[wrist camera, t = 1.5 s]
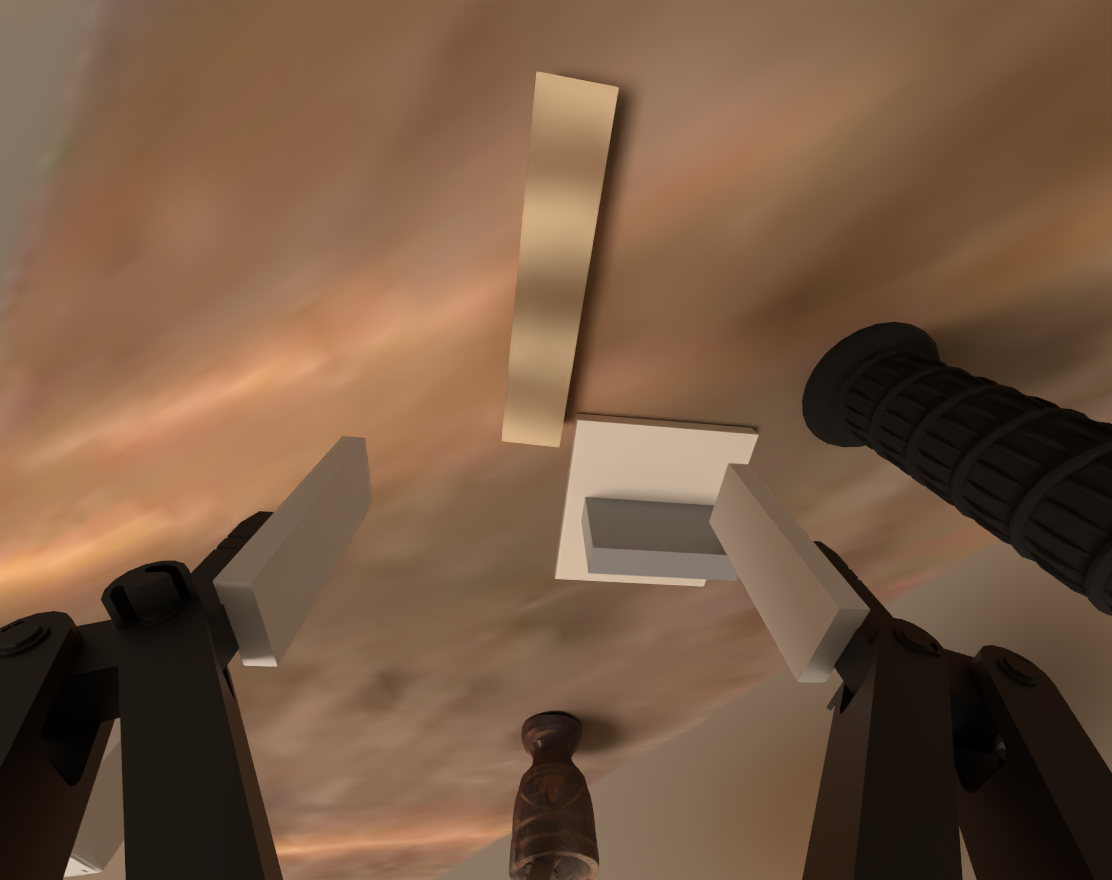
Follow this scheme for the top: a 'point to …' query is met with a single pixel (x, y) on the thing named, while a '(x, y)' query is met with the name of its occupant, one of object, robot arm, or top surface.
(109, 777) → the supplement box
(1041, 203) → the top surface
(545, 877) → the mortar and pestle
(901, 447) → the handle grip
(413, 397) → the top surface
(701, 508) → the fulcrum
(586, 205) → the maple bar
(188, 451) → the top surface
